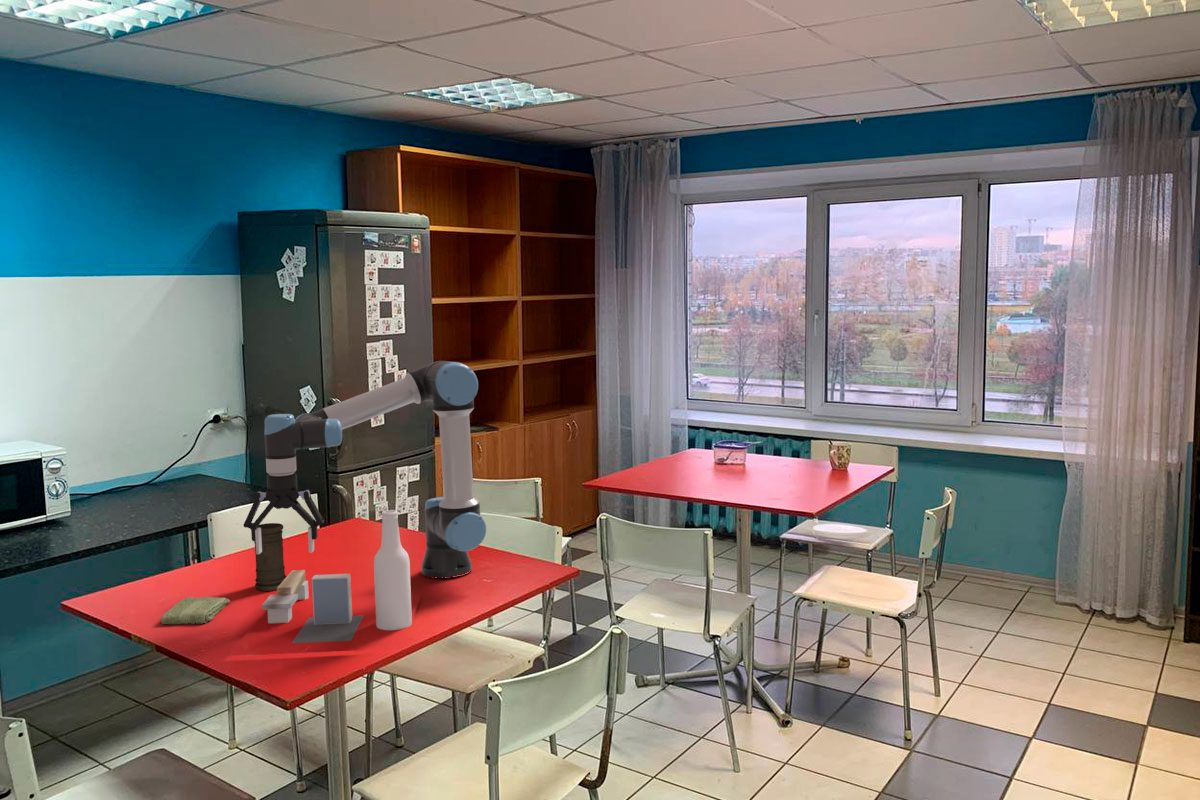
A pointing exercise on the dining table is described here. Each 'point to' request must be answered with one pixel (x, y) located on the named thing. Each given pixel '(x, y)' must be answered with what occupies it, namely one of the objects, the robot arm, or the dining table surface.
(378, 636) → the dining table surface
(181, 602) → the washcloth
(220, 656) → the dining table surface
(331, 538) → the dining table surface
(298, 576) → the beige tapered bar
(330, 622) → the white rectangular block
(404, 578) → the alcohol
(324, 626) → the mat
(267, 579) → the container
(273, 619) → the tool rest
